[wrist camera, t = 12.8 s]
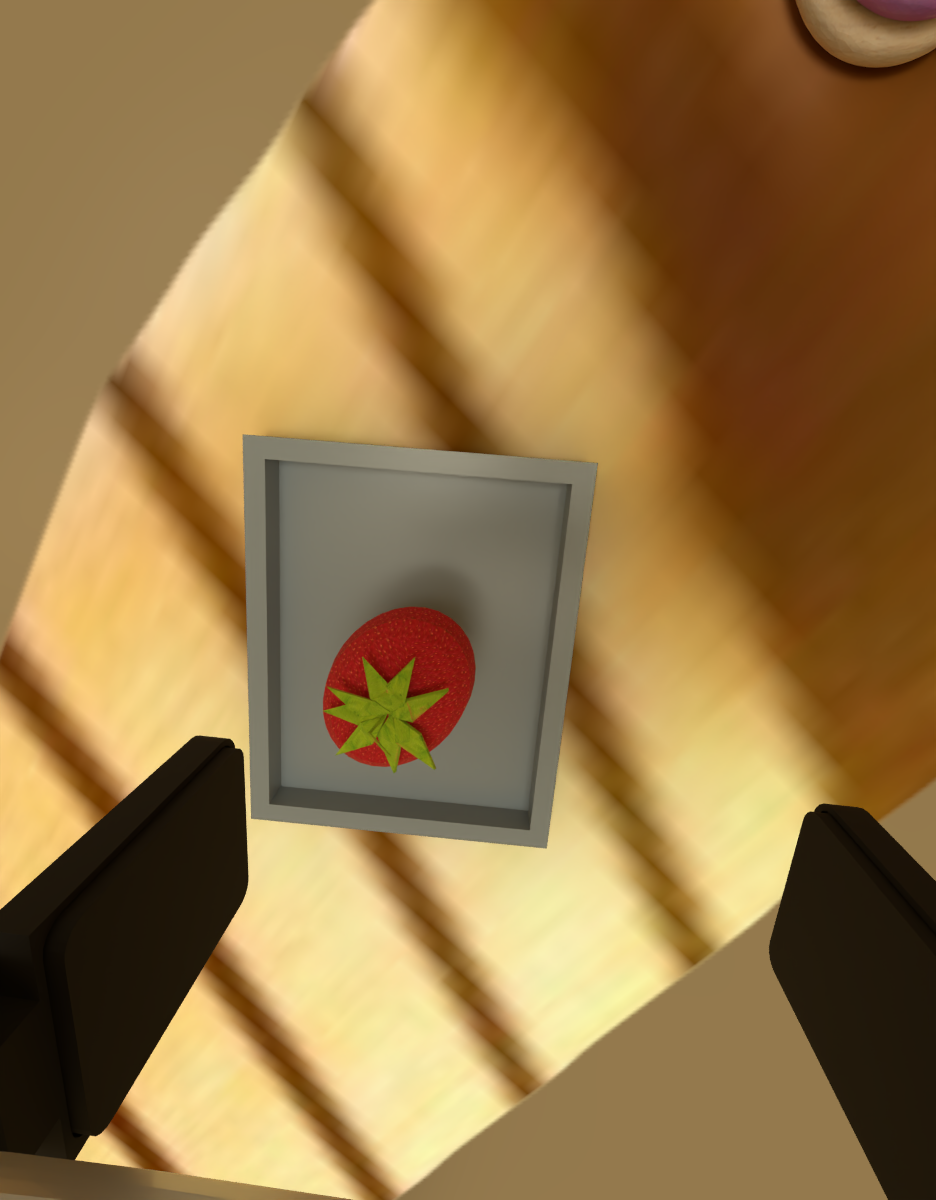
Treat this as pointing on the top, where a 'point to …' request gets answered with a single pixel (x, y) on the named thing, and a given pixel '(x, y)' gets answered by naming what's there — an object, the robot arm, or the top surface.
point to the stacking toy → (872, 29)
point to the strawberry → (399, 687)
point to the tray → (412, 579)
